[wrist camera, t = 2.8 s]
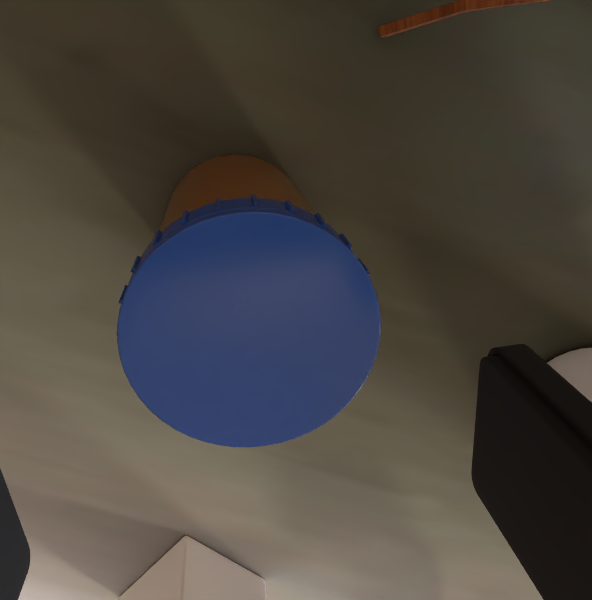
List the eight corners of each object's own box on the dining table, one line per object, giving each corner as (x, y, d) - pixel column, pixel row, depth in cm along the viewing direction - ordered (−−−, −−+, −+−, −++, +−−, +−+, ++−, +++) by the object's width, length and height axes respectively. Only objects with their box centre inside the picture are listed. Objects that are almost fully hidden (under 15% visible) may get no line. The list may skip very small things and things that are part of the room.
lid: (366, 182, 14) (383, 194, 13) (370, 401, 17) (384, 430, 15) (99, 209, 13) (85, 225, 12) (148, 432, 16) (142, 466, 15)
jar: (301, 147, 22) (363, 206, 13) (310, 282, 25) (367, 412, 16) (154, 161, 22) (109, 232, 13) (177, 298, 24) (154, 442, 15)
